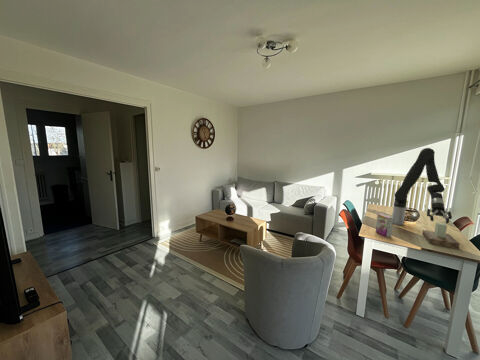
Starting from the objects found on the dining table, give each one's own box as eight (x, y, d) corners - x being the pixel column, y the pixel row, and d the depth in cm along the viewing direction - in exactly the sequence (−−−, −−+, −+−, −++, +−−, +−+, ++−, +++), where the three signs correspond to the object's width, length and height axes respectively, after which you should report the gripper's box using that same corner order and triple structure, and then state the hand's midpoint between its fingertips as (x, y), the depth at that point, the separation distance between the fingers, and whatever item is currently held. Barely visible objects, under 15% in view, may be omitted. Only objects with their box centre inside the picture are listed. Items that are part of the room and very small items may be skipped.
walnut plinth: (429, 243, 156) (430, 238, 155) (422, 234, 173) (423, 230, 172) (458, 248, 148) (459, 243, 147) (448, 238, 165) (448, 233, 165)
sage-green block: (436, 236, 159) (438, 224, 158) (434, 234, 163) (436, 222, 162) (445, 238, 157) (447, 225, 155) (442, 235, 161) (444, 223, 160)
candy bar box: (375, 232, 178) (377, 213, 175) (380, 231, 179) (382, 213, 176) (386, 237, 167) (388, 218, 164) (391, 237, 168) (393, 217, 165)
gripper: (427, 201, 170) (429, 218, 162) (451, 203, 162) (454, 221, 154) (424, 205, 175) (426, 222, 167) (447, 208, 168) (450, 226, 160)
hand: (439, 222), depth 161 cm, fingers open, 8 cm apart
